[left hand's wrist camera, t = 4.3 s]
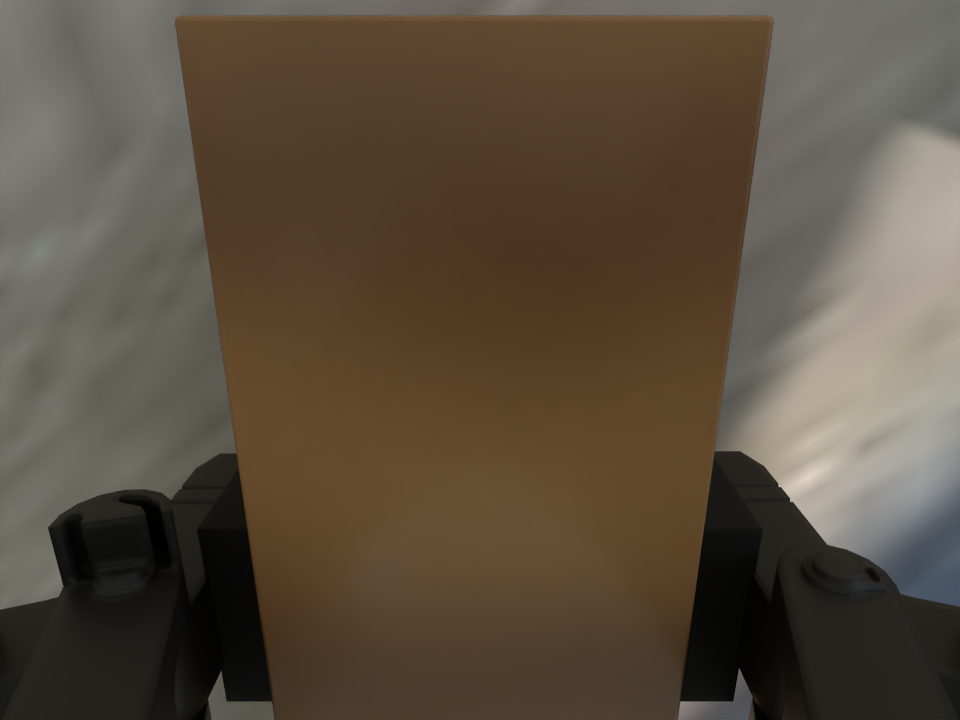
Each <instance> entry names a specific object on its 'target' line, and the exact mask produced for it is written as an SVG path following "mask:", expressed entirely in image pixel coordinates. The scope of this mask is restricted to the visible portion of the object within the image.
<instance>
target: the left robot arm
mask: <svg viewBox="0 0 960 720" xmlns="http://www.w3.org/2000/svg"><path fill="white" fill-rule="evenodd" d="M48 529H49V533H50V537H51V541H52V544H53V548H54V552H55V556H56V559H57V563H58V567H59V571H60V575H61V578H62V582H63V586H64V587H63V589H62V591H61V593H60V596H59V597H57V598H54V599H50V600H46V601H41V602H36V603H32V604H27V605H22V606H17V607H12V608H7V609H2V610H0V720H211V713H210V708H209V702H208V697H209V695H210V693H211V691H212V689H213V687H214V685H215V682H216V680H217V678H218V676H219V674H220V672H221V670H222V676H223V682H224V688H225V693H226V699H227V701H272V697H271V690H270V683H269V676H268V669H267V662H266V655H265V648H264V641H263V634H262V627H261V620H260V613H259V606H258V599H257V592H256V585H255V578H254V571H253V564H252V557H251V550H250V543H249V536H248V529H247V522H246V515H245V508H244V501H243V494H242V487H241V480H240V473H239V466H238V459H237V454H219V455H217V456H216V457H214V458H212V459H211V460H209V461H208V462H206V463H204V464H203V465H201V466H200V467H198V468H196V469H195V471H194V472H193V473H192V474H191V476H190V477H189V478H188V479H187V481H186V482H185V483H184V484H183V486H182V490H179V491H178V492H177V493H176V495H175V496H174V497H173V498H172V500H170V499H169V498H167V497H166V496H165V495H163V494H162V493H159V492H155V491H150V490H145V489H142V490H122V491H118V492H113V493H108V494H103V495H100V496H97V497H94V498H92V499H89V500H87V501H84V502H81V503H79V504H77V505H75V506H74V507H72V508H70V509H69V510H67V511H65V512H64V513H62V514H61V515H59V516H58V517H57V519H56V520H55V521H54V522H53V523H52V524H51V525H50V526H49V527H48ZM739 668H740V670H741V673H742V675H743V677H744V679H745V681H746V683H747V685H748V688H749V690H750V692H751V694H752V696H753V697H752V702H751V708H750V713H749V718H748V720H960V607H958V606H953V605H948V604H943V603H938V602H933V601H928V600H923V599H918V598H914V597H910V596H906V595H903V594H900V592H899V590H898V588H897V586H896V585H895V583H894V582H893V581H892V579H891V578H890V577H889V575H888V574H887V573H886V572H885V571H884V570H882V569H881V568H880V567H878V566H877V565H875V564H874V563H873V562H871V561H870V560H868V559H866V558H864V557H862V556H860V555H857V554H855V553H853V552H851V551H848V550H845V549H841V548H837V547H833V546H829V545H827V544H826V543H825V541H824V540H823V539H822V538H821V536H820V535H819V534H818V533H817V531H816V530H815V529H814V528H813V527H812V525H811V524H810V523H809V522H808V520H807V519H806V518H805V517H804V515H803V514H802V513H801V512H800V510H799V509H798V508H797V507H796V505H795V504H794V503H793V502H790V498H789V497H788V495H787V494H786V493H785V492H784V490H783V489H782V488H781V487H778V483H777V482H776V480H775V479H774V478H773V477H772V475H771V474H770V473H769V472H768V470H767V469H766V468H765V467H764V466H763V465H761V464H760V463H758V462H756V461H755V460H753V459H752V458H750V457H748V456H747V455H745V454H743V453H742V452H740V451H715V452H714V459H713V466H712V474H711V481H710V488H709V495H708V503H707V510H706V517H705V524H704V532H703V539H702V546H701V554H700V561H699V568H698V575H697V583H696V590H695V597H694V605H693V612H692V619H691V626H690V634H689V641H688V648H687V655H686V663H685V670H684V677H683V685H682V692H681V699H680V701H733V699H734V693H735V688H736V682H737V676H738V670H739Z"/></svg>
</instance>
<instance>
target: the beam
mask: <svg viewBox="0 0 960 720" xmlns="http://www.w3.org/2000/svg"><path fill="white" fill-rule="evenodd" d="M175 24H176V31H177V38H178V46H179V53H180V60H181V67H182V74H183V81H184V88H185V95H186V102H187V109H188V116H189V123H190V130H191V137H192V144H193V151H194V158H195V165H196V172H197V179H198V186H199V193H200V200H201V207H202V214H203V221H204V228H205V235H206V242H207V249H208V256H209V263H210V270H211V277H212V284H213V291H214V298H215V305H216V312H217V319H218V326H219V333H220V340H221V347H222V354H223V361H224V368H225V375H226V382H227V389H228V396H229V403H230V410H231V417H232V424H233V431H234V438H235V445H236V452H237V459H238V466H239V473H240V480H241V487H242V494H243V501H244V508H245V515H246V522H247V529H248V536H249V543H250V550H251V557H252V564H253V571H254V578H255V585H256V592H257V599H258V606H259V613H260V620H261V627H262V634H263V641H264V648H265V655H266V662H267V669H268V676H269V683H270V690H271V697H272V704H273V711H274V718H275V720H678V714H679V706H680V699H681V692H682V685H683V677H684V670H685V663H686V655H687V648H688V641H689V634H690V626H691V619H692V612H693V605H694V597H695V590H696V583H697V575H698V568H699V561H700V554H701V546H702V539H703V532H704V524H705V517H706V510H707V503H708V495H709V488H710V481H711V474H712V466H713V459H714V452H715V444H716V437H717V430H718V423H719V415H720V408H721V401H722V394H723V386H724V379H725V372H726V364H727V357H728V350H729V343H730V335H731V328H732V321H733V313H734V306H735V299H736V292H737V284H738V277H739V270H740V263H741V255H742V248H743V241H744V233H745V226H746V219H747V212H748V204H749V197H750V190H751V183H752V175H753V168H754V161H755V153H756V146H757V139H758V132H759V124H760V117H761V110H762V102H763V95H764V88H765V81H766V73H767V66H768V59H769V52H770V44H771V37H772V30H773V18H771V17H769V16H179V17H177V18H176V21H175Z"/></svg>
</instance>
